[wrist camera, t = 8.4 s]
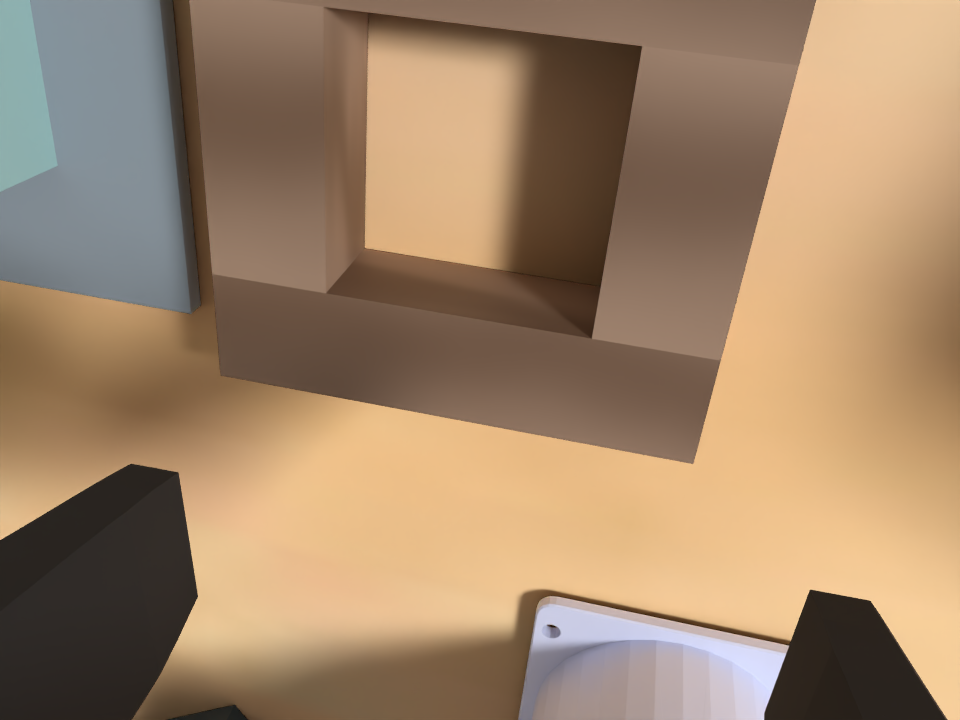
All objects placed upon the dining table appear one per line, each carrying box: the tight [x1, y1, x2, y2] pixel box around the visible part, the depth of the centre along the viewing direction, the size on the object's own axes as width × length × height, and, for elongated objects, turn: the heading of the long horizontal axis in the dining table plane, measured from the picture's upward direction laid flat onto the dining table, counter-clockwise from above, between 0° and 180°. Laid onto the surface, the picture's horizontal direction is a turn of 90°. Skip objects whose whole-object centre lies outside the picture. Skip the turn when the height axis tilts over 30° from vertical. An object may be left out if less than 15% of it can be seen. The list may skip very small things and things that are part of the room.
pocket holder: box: [189, 0, 816, 464], centre depth 17 cm, size 10×10×2 cm
